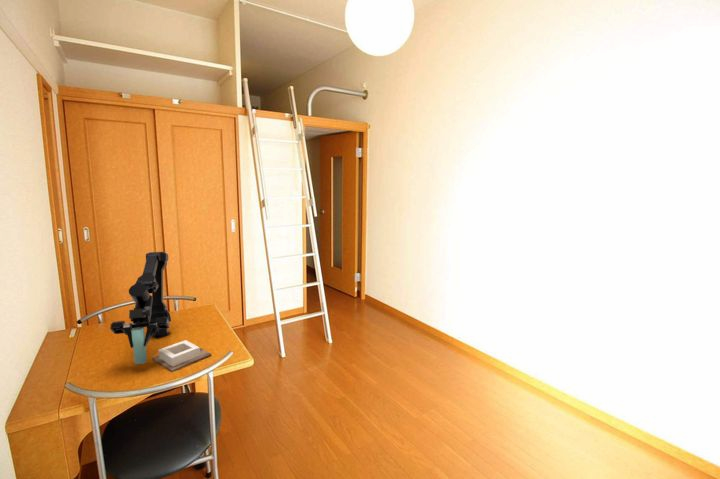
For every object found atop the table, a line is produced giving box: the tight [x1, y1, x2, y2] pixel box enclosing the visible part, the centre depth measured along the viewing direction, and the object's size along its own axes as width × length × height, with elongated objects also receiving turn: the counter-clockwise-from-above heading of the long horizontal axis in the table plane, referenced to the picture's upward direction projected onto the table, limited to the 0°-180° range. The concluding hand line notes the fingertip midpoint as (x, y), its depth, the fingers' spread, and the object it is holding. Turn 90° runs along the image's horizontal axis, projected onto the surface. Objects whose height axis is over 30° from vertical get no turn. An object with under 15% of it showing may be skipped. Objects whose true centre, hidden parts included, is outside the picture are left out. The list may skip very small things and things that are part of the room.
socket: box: [157, 339, 201, 366], centre depth 142 cm, size 11×11×4 cm
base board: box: [151, 347, 212, 373], centre depth 143 cm, size 16×16×1 cm
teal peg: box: [131, 327, 148, 365], centre depth 132 cm, size 4×4×13 cm
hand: (138, 346), depth 131 cm, fingers closed on teal peg, 4 cm apart
